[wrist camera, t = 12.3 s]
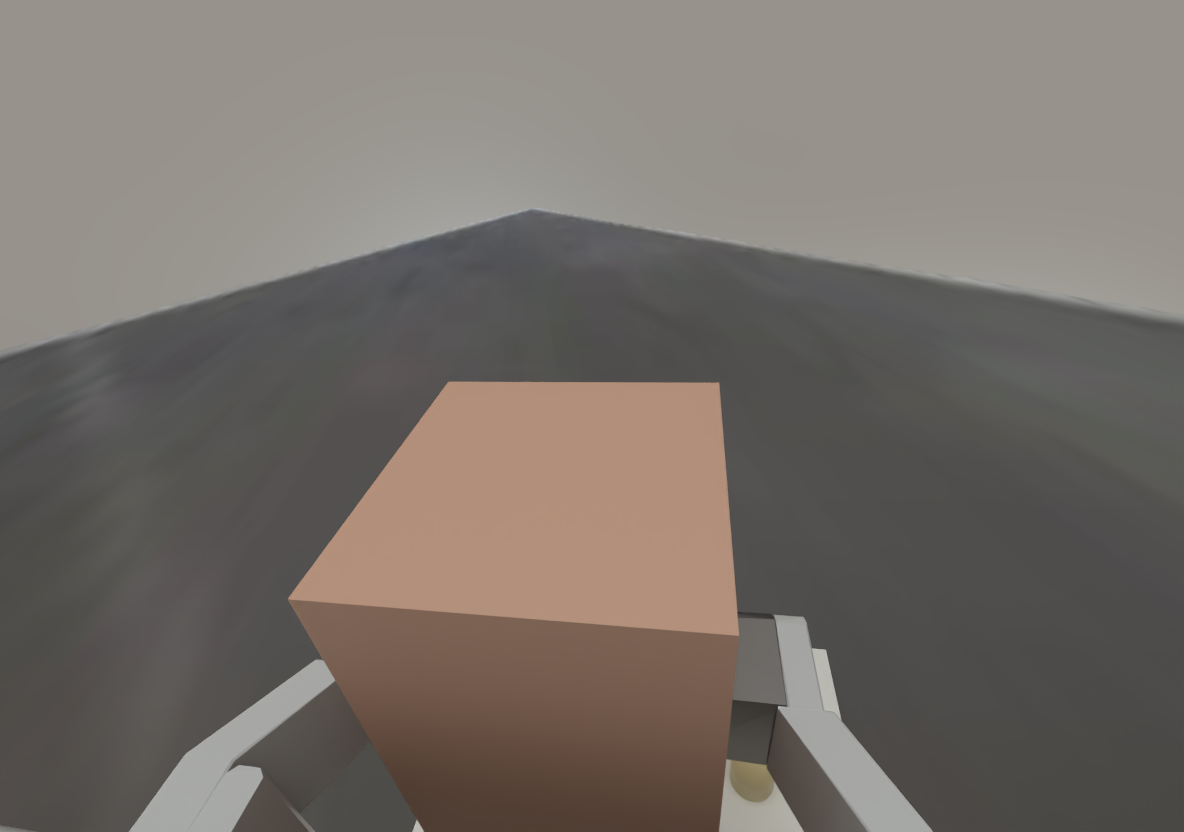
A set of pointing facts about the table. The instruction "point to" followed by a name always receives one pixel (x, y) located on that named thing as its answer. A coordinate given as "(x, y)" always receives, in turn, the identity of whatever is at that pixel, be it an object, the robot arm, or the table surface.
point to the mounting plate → (779, 804)
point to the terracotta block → (542, 609)
